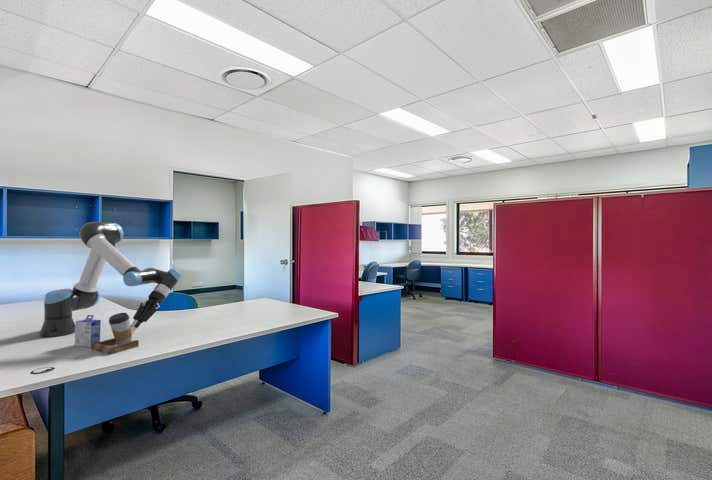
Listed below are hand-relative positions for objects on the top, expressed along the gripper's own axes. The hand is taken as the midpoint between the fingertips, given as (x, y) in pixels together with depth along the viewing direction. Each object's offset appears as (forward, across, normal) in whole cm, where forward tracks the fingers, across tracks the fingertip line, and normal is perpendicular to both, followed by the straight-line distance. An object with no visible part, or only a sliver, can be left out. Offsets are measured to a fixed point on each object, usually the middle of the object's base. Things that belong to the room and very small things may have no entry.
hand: (129, 332), depth 176 cm
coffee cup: (+5, 0, -2) cm, 6 cm away
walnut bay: (+9, 0, 0) cm, 9 cm away
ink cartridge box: (+11, +18, +2) cm, 21 cm away
